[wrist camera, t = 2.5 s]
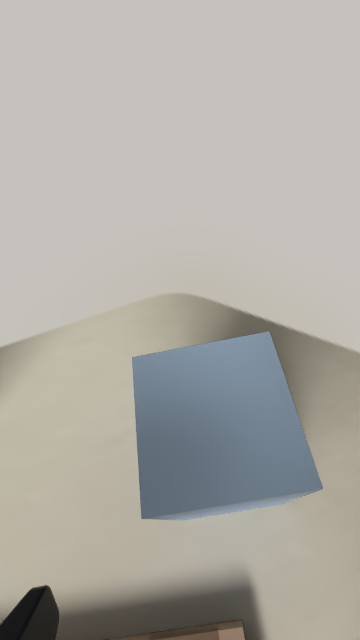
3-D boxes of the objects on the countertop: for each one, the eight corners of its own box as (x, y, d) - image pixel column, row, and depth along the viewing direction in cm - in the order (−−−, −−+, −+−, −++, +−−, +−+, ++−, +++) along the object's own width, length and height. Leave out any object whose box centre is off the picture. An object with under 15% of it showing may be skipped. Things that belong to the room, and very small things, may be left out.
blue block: (281, 504, 16) (323, 488, 9) (184, 520, 16) (141, 519, 9) (255, 407, 19) (269, 331, 11) (172, 422, 19) (132, 357, 12)
